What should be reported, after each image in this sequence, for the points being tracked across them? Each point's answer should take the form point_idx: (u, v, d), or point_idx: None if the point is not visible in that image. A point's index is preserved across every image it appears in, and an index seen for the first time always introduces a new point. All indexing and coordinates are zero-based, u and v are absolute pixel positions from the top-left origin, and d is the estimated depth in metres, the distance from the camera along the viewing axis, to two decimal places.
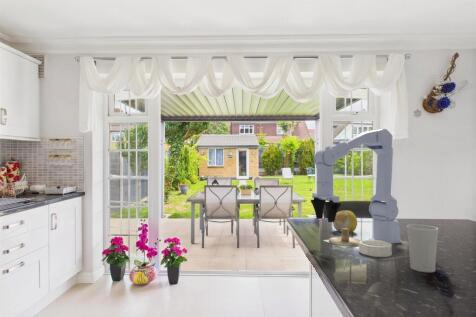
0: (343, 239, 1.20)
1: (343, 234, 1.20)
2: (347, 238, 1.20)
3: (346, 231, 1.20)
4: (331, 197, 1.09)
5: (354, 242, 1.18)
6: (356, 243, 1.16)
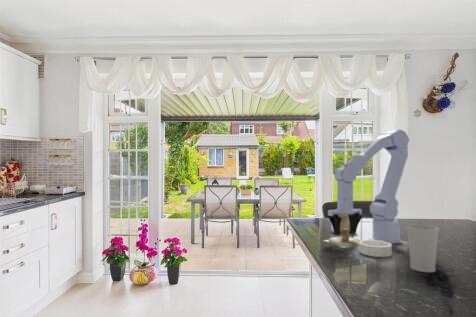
0: (343, 239, 1.20)
1: (343, 234, 1.20)
2: (347, 238, 1.20)
3: (346, 231, 1.20)
4: None
5: (354, 242, 1.18)
6: (356, 243, 1.16)
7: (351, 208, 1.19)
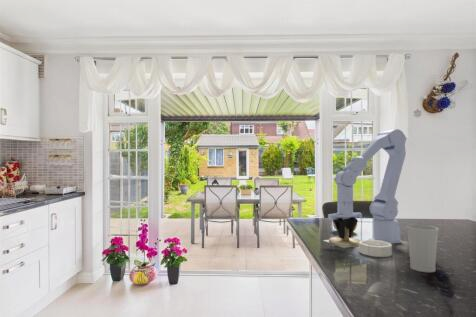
0: (343, 239, 1.20)
1: None
2: (347, 238, 1.20)
3: (346, 231, 1.20)
4: None
5: (354, 242, 1.18)
6: (356, 243, 1.16)
7: (351, 212, 1.19)
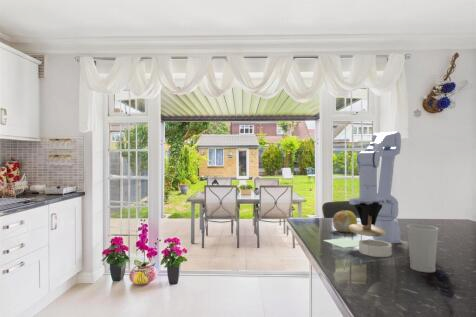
0: (365, 227, 1.10)
1: None
2: (369, 227, 1.09)
3: (369, 219, 1.09)
4: None
5: (377, 231, 1.07)
6: (380, 233, 1.06)
7: (375, 196, 1.08)
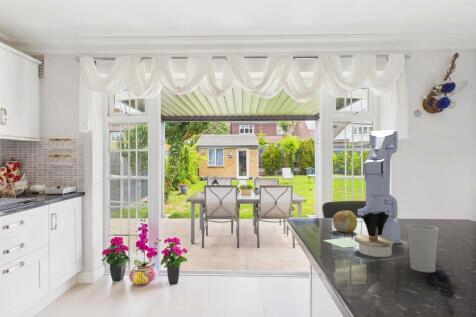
0: (372, 238, 1.07)
1: None
2: (376, 237, 1.06)
3: None
4: None
5: (385, 242, 1.05)
6: (388, 243, 1.03)
7: (383, 206, 1.05)
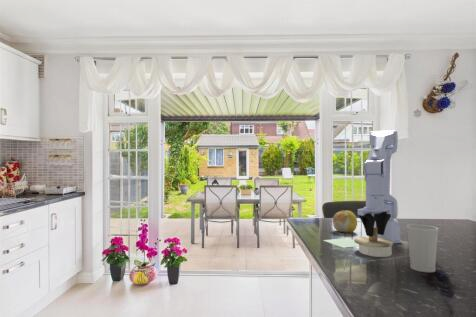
0: (371, 239, 1.07)
1: None
2: (376, 238, 1.07)
3: (375, 230, 1.07)
4: None
5: (385, 242, 1.05)
6: (388, 243, 1.03)
7: (383, 206, 1.05)
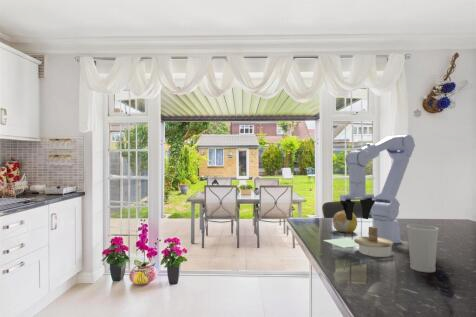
0: (371, 239, 1.07)
1: (371, 233, 1.07)
2: (376, 238, 1.07)
3: (375, 230, 1.07)
4: None
5: (385, 242, 1.05)
6: (388, 243, 1.03)
7: (364, 192, 1.16)
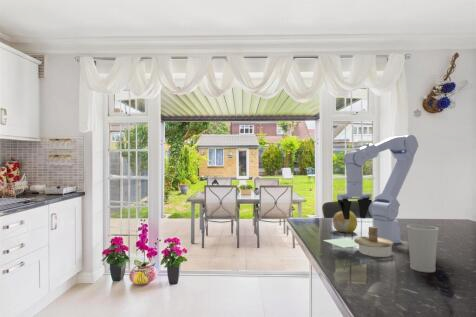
0: (371, 239, 1.07)
1: (371, 233, 1.07)
2: (376, 238, 1.07)
3: (375, 230, 1.07)
4: None
5: (385, 242, 1.05)
6: (388, 243, 1.03)
7: (361, 192, 1.17)
